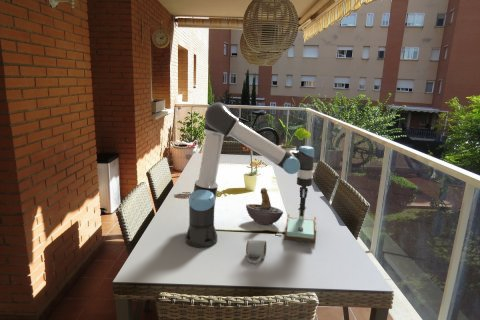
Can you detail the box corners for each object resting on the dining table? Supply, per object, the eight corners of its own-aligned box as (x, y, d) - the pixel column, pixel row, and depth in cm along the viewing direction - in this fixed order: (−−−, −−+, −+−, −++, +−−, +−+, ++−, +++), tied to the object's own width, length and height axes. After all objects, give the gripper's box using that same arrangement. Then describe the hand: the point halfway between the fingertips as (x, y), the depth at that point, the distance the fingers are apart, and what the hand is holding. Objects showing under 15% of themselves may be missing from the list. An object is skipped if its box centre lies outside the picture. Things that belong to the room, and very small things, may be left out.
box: (315, 242, 167) (316, 230, 165) (284, 239, 170) (285, 227, 168) (315, 227, 184) (316, 216, 183) (287, 224, 187) (287, 213, 185)
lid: (313, 238, 161) (314, 232, 160) (286, 235, 163) (287, 229, 162) (313, 224, 177) (313, 218, 176) (288, 221, 179) (289, 216, 179)
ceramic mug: (248, 251, 156) (249, 235, 155) (266, 253, 155) (267, 238, 153) (243, 263, 146) (244, 246, 145) (262, 266, 145) (263, 249, 143)
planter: (244, 219, 192) (245, 184, 187) (271, 216, 198) (273, 182, 193) (254, 230, 178) (256, 193, 174) (283, 226, 184) (286, 190, 180)
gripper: (312, 181, 166) (308, 227, 172) (312, 174, 179) (308, 217, 184) (296, 180, 168) (293, 225, 173) (297, 173, 180) (294, 215, 186)
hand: (301, 221), depth 179 cm, fingers closed
